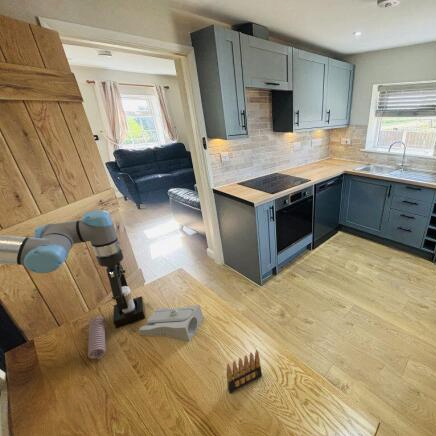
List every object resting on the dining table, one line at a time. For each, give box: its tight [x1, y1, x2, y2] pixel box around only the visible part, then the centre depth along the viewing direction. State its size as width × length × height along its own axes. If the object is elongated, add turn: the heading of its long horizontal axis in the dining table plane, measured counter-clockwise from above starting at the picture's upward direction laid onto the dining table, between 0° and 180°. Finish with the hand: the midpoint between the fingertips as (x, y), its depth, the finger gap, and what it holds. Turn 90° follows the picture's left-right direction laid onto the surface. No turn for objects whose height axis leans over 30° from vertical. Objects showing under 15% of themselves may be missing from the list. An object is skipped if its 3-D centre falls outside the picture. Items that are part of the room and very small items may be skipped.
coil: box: [87, 316, 107, 360], centre depth 86 cm, size 5×5×18 cm
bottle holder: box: [112, 295, 146, 330], centre depth 97 cm, size 10×10×4 cm
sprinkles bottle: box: [122, 286, 137, 315], centre depth 96 cm, size 5×5×13 cm
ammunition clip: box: [226, 349, 263, 394], centre depth 72 cm, size 11×2×12 cm, turn 120°
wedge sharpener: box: [138, 304, 204, 342], centre depth 92 cm, size 11×20×7 cm, turn 83°
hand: (123, 297), depth 94 cm, fingers open, 13 cm apart
